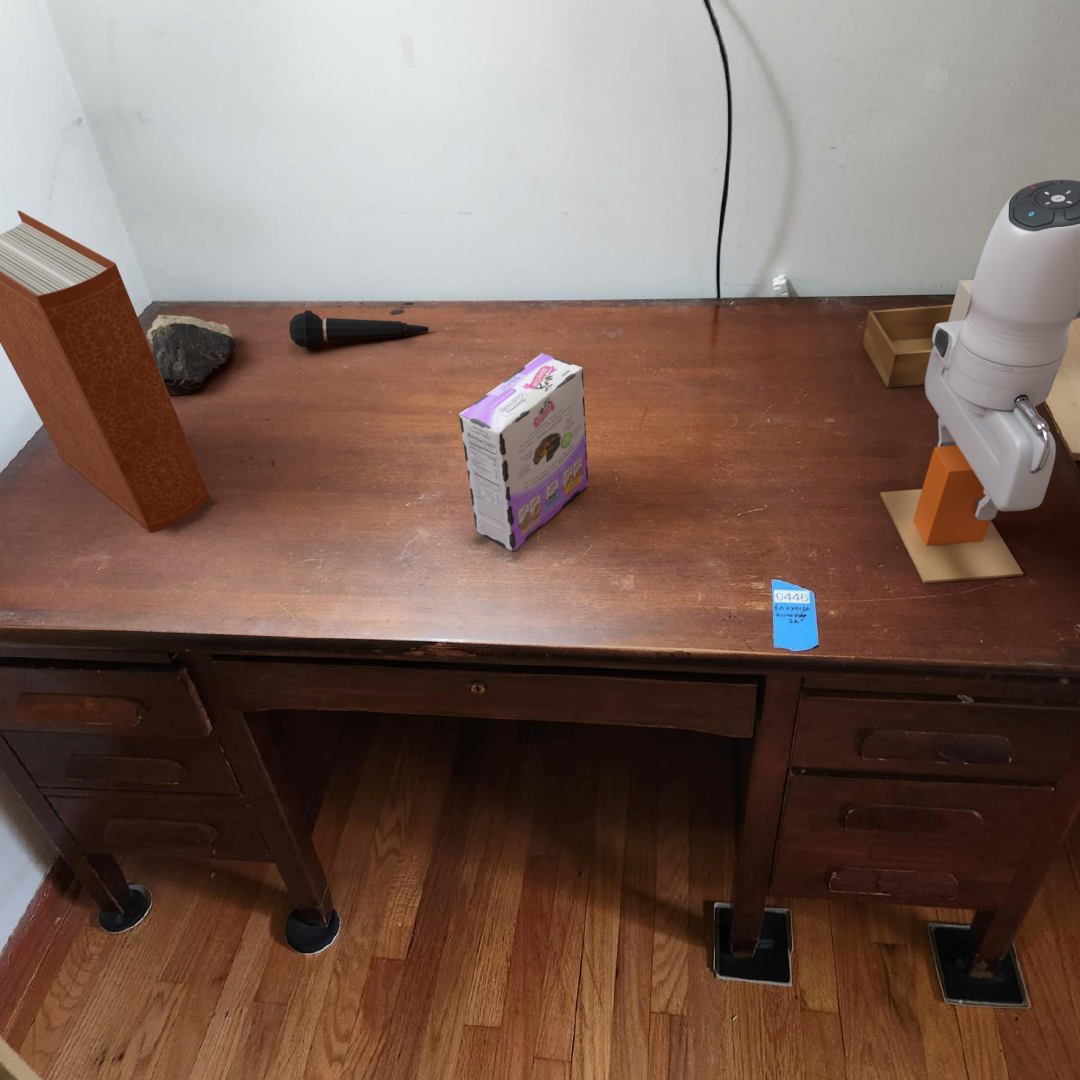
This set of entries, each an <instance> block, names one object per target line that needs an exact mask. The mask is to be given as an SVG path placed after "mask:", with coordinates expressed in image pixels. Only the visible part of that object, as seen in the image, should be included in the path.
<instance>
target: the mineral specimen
mask: <svg viewBox="0 0 1080 1080" xmlns="http://www.w3.org/2000/svg"><path fill="white" fill-rule="evenodd" d="M146 339H147V340H149V344H152V354H153V356H154V359H155V361H156V364H157V366H158V369H159V371H160V374H161V376H162V379H163V381H164V384H165V386H166V389H167V391H168V393H169V395H170V396H177V397H178V396H183V395H188V394H192V393H193V392H194V391H196V390H197V389H199V388H200V386H202V384H203V383H204V381H205V379H206V378H207V376H208V375H210V374H212V373H213V370H216V369H217V370H218V369H219V366H223V365H225V363H227V361H228V358H229V356H230V355H231V354H232V353H233V352H234V351H235V350H236V348H237V347H238V344H237V343H236V342H235V340H234V337H233V334H232V331H231V329H230V328H229V326H228V325H227V324H220V323H219V322H216V321H209V320H208V321H205V320H203V319H202V318H199V317H195V316H192V315H181V316H180V315H177V314H175V315H174V314H158V315H157V317H156V318H154V320H153V321H152V324H151V327H150V328H149V329H148V330H147V332H146Z"/></svg>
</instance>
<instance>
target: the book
mask: <svg viewBox="0 0 1080 1080" xmlns="http://www.w3.org/2000/svg"><path fill="white" fill-rule="evenodd" d="M16 212H17V215H18V216H19V218H20V220H21V223H20V224H18V225H16V226H15V227H13V228H11V229H9V230H6V231H4V232H2V233H0V345H1V347H2V349H3V351H4V352H5V355H6V356H7V358H8V360H9V362H10V364H11V366H12V368H13V370H14V372H15V374H16V375H17V377H18V379H19V381H20V383H21V385H22V387H23V388H24V390H25V392H26V394H27V396H28V398H29V400H30V402H31V404H32V405H33V407H34V409H35V411H36V413H37V415H38V417H39V418H40V420H41V422H42V424H43V426H44V428H45V430H46V432H47V434H48V436H49V437H50V439H51V441H52V443H53V445H54V447H55V449H56V451H57V452H58V454H59V456H60V458H61V460H62V462H63V463H65V464H66V465H67V466H69V467H70V468H71V469H72V470H73V471H75V472H76V474H78V475H79V476H80V477H82V478H83V479H84V480H85V481H87V483H89V484H90V485H92V486H93V487H94V488H95V489H96V490H98V491H99V492H100V493H101V494H102V495H104V497H106V498H107V499H108V500H110V501H111V502H112V503H113V504H115V506H117V507H118V508H119V509H120V510H122V512H124V513H125V514H127V515H128V516H129V517H130V518H131V519H132V520H134V521H135V522H136V523H137V524H138V525H139V526H141V527H142V528H143V529H145V531H147V532H148V533H150V534H151V533H155V532H157V531H161V530H165V529H167V528H169V527H172V526H174V525H176V524H178V523H181V522H182V521H184V520H185V519H187V518H189V517H190V516H192V515H193V514H195V513H196V512H198V511H199V510H201V508H202V507H203V506H204V505H205V504H206V503H207V502H208V501H209V500H210V498H211V494H210V492H209V489H208V487H207V484H206V482H205V480H204V477H203V475H202V472H201V470H200V468H199V465H198V463H197V460H196V457H195V455H194V453H193V451H192V448H191V445H190V443H189V440H188V438H187V436H186V433H185V430H184V428H183V426H182V423H181V421H180V418H179V416H178V413H177V411H176V409H175V406H174V403H173V400H172V398H171V395H170V394H169V393H168V391H167V389H166V386H165V384H164V381H163V379H162V376H161V374H160V371H159V369H158V366H157V364H156V361H155V359H154V356H153V354H152V353H153V351H152V349H151V347H150V343H149V342H148V338H147V336H146V334H145V332H144V329H143V327H142V324H141V322H140V320H139V318H138V317H139V316H138V315H137V312H136V310H135V307H134V305H133V303H132V299H131V298H130V295H129V293H128V290H127V288H126V285H125V282H124V280H123V278H122V276H121V272H120V271H119V268H118V265H117V263H116V262H115V261H113V260H111V259H109V258H107V257H105V256H104V255H102V254H100V253H98V252H96V251H94V250H92V249H91V248H89V247H87V246H85V245H83V244H81V243H80V242H77V241H76V240H74V239H72V238H70V237H68V236H67V235H65V234H63V233H61V232H60V231H58V230H56V229H54V228H52V227H51V226H48V225H47V224H44V223H43V222H41V221H39V220H38V219H36V218H34V217H32V216H30V215H28V214H26V213H25V212H24V211H23V212H22V211H21V210H17V211H16Z"/></svg>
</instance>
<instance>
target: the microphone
mask: <svg viewBox="0 0 1080 1080" xmlns="http://www.w3.org/2000/svg"><path fill="white" fill-rule="evenodd" d="M288 327H289V328H288V329H289V330H288V331H289V335H290V339H291V341H293V343H294V344H295V345H296V346H298V347H300V348H306V350H308V351H315V349H316V348H318V347H319V346H321V345H322V343H323V342H324V341H326V342H327V343H336V342H343V343H345V344H352V343H356V342H357V341H364V340H365V341H366V340H367V341H368V340H381V339H394V338H402V337H408V335H411V334H412V335H413V334H421V333H426V332H429V326H425V325H417V324H408V323H407V322H402V321H401V320H400V321H399V320H398V321H396V320H379V319H378V320H377V319H357V318H354V319H353V318H332V317H325V318H324V319H322V318H321V317H320V316H319V315H318V314H316V313H314V312H313V311H312V310H308V309H305V310H304V312H301V313H297V314H295V315H294V316H293V317H292V318H291V320H290V321H289V326H288Z"/></svg>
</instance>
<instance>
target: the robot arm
mask: <svg viewBox="0 0 1080 1080" xmlns="http://www.w3.org/2000/svg"><path fill="white" fill-rule="evenodd" d="M978 261H979V262H978V264H977V268H976V269H975V275H974V278H973V280H974V281H973V285H972V288H971V309H970V312H969V314H968V316H967V317H966V319H965V320H959V321H950V322H943V323H938V324H936V325H935V328H934V331H933V336H932V341H933V343H934V346H933V348H932V351H931V355H930V358H929V362H928V367H927V372H926V377H925V385H924V392H925V396H926V399H927V400H928V401H929V403H930V404H931V406H932V408H933V409H934V411H935V413H936V414H937V416H938V419H937V425H938V444H937V447H942V446H955V445H957V446H958V447H959V449H960V451H961V452H962V454H963V455H964V457H965V459H966V460H967V462H968V463H969V465H970V466H971V468H972V470H973V471H974V473H975V474H976V476H977V478H978V479H979V481H980V482H981V484H982V485H983V487H984V491H983V492H984V494H985V495H986V496H985V497H984V498H983V497H978V498H975V500H974V502H973V506H972V511H973V513H974V514H975V516H976V518H977V520H979V521H982V520H991V521H992V520H993V519H995V518H996V516H997V513H998V511H1000V512H1021V511H1029V510H1033V509H1035V508H1038V507H1039V506H1041V504H1042V503H1043V501H1044V498H1045V497H1046V493H1047V489H1048V487H1049V483H1050V480H1051V476H1052V473H1053V468H1054V464H1055V460H1056V454H1057V449H1056V448H1057V447H1056V441H1055V438H1054V436H1053V434H1052V433H1051V431H1050V426H1049V423H1048V422H1047V421H1046V419H1045V418H1044V417H1042V416H1041V415H1040V414H1039V412H1038V410H1037V408H1036V407H1037V406H1040V405H1041V404H1043V403H1044V402H1045V401H1046V400H1047V399H1048V397H1049V395H1050V393H1051V390H1052V387H1053V385H1054V382H1055V380H1056V378H1057V374H1058V372H1059V369H1060V367H1061V364H1062V361H1063V358H1064V356H1065V354H1066V350H1067V347H1068V339H1069V338H1068V337H1069V336H1068V335H1069V334H1068V333H1069V328H1070V326H1071V324H1072V322H1073V321H1075V320H1078V319H1080V181H1079V180H1075V179H1074V180H1073V179H1049V180H1044V181H1039V182H1036V183H1033V184H1030V185H1027V186H1024V187H1022V188H1021V189H1019V190H1017V191H1015V193H1013V194H1012V195H1011V196H1010V197H1009V198H1008V200H1007V201H1006V202H1005V204H1004V206H1002V209H1001V210H1000V212H999V213H998V216H997V217H996V219H995V222H994V224H993V226H992V228H991V230H990V232H989V234H988V237H987V239H986V242H985V243H984V247H983V250H982V252H981V255H980V258H979V260H978Z"/></svg>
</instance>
